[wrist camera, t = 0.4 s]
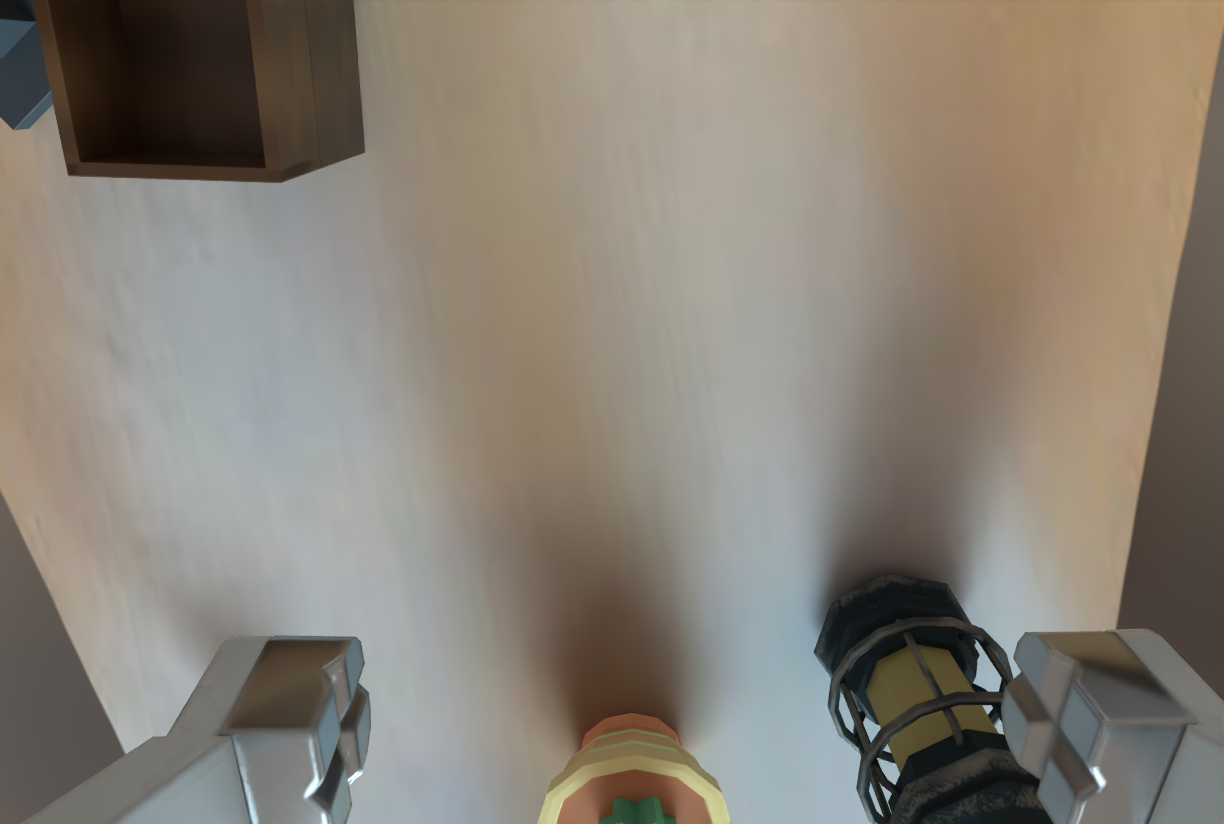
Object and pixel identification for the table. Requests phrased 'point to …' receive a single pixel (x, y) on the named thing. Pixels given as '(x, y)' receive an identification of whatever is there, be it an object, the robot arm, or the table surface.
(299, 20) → the caddy
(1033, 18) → the table surface
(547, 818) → the potted cactus
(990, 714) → the lantern
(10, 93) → the stand
